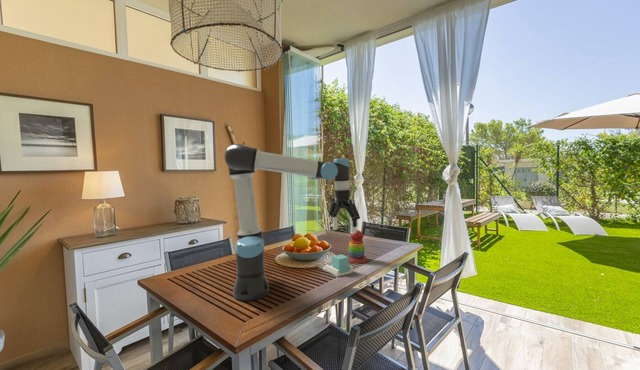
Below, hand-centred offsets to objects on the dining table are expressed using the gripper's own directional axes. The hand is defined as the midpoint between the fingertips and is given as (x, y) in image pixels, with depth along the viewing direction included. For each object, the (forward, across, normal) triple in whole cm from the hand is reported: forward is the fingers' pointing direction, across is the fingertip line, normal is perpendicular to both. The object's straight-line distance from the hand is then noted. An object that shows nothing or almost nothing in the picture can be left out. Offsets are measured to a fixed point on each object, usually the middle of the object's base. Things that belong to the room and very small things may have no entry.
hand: (344, 231), depth 143 cm
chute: (+21, +8, +1) cm, 23 cm away
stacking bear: (+22, +10, -18) cm, 30 cm away
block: (+21, +2, +2) cm, 21 cm away
